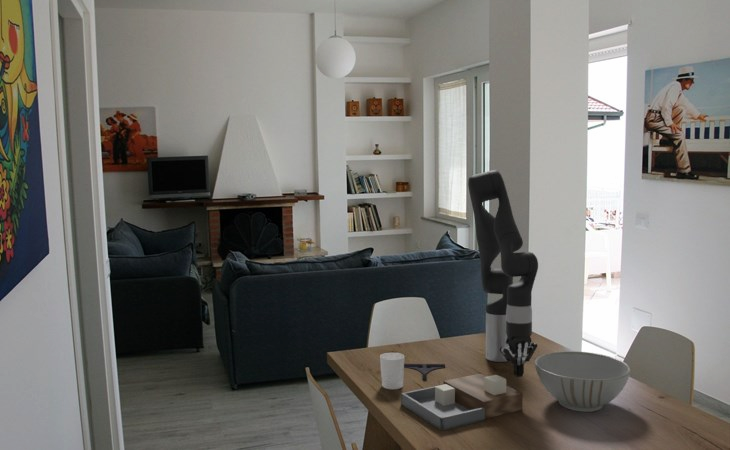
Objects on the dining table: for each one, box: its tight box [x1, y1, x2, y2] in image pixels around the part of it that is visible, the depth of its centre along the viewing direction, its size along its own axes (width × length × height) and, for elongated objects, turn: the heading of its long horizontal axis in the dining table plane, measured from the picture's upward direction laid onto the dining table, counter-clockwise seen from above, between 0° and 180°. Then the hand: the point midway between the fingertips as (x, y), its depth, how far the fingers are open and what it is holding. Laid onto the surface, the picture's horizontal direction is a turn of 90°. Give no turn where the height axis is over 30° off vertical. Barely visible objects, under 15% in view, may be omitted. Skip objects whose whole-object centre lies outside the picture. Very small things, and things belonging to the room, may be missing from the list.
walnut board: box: [443, 373, 524, 419], centre depth 195 cm, size 14×20×5 cm
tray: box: [400, 385, 485, 431], centre depth 189 cm, size 14×22×4 cm, turn 27°
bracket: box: [404, 363, 446, 381], centre depth 224 cm, size 14×15×3 cm
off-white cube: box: [484, 374, 507, 395], centre depth 191 cm, size 4×4×4 cm
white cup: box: [379, 352, 405, 390], centre depth 211 cm, size 8×8×10 cm
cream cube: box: [435, 383, 455, 406], centre depth 195 cm, size 4×4×4 cm
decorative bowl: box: [534, 350, 631, 413], centre depth 193 cm, size 27×27×12 cm
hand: (518, 376), depth 195 cm, fingers closed
